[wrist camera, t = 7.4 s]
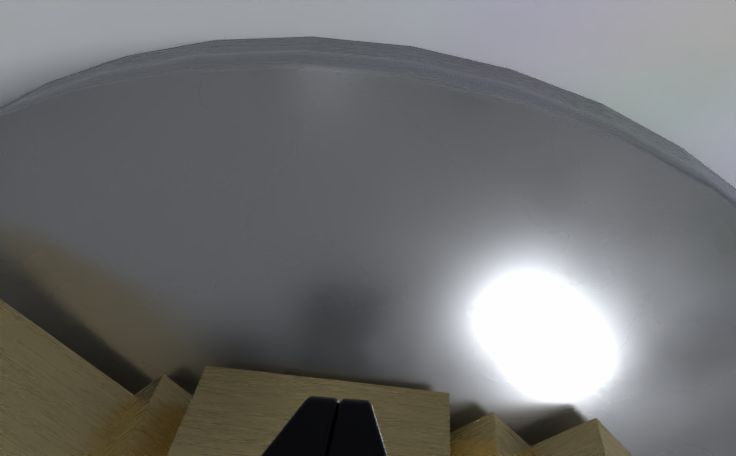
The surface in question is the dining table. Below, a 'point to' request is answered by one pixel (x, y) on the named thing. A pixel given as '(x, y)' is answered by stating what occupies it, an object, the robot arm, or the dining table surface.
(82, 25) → the dining table surface
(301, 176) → the grey round shallow disc
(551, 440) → the gold block ring
